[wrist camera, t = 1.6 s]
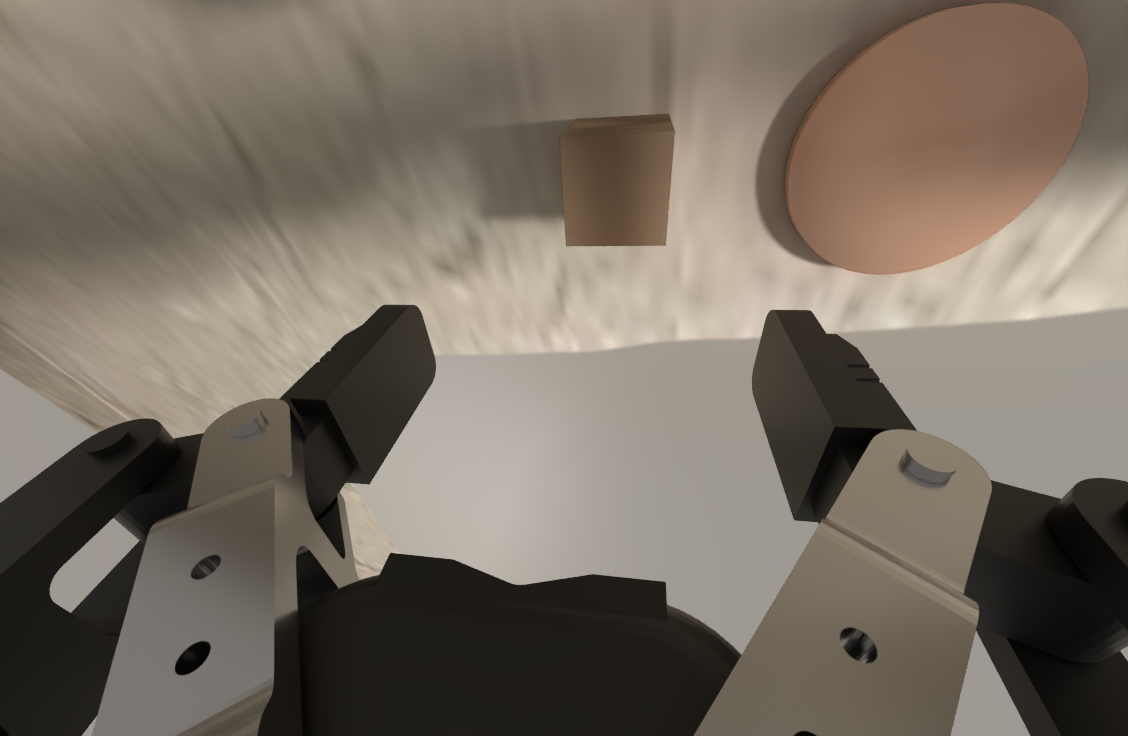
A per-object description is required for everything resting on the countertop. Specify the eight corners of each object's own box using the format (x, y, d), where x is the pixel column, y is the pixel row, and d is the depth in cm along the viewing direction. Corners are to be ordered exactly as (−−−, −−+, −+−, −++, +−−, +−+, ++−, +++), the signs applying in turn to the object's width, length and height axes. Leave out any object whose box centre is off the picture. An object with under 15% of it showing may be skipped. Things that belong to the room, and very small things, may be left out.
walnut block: (668, 113, 23) (674, 131, 18) (662, 209, 26) (665, 245, 21) (576, 118, 24) (559, 136, 19) (580, 210, 27) (566, 246, 22)
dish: (1129, -8, 18) (1164, -13, 17) (981, 264, 25) (998, 274, 24) (819, 18, 20) (830, 16, 19) (763, 264, 27) (769, 274, 26)
